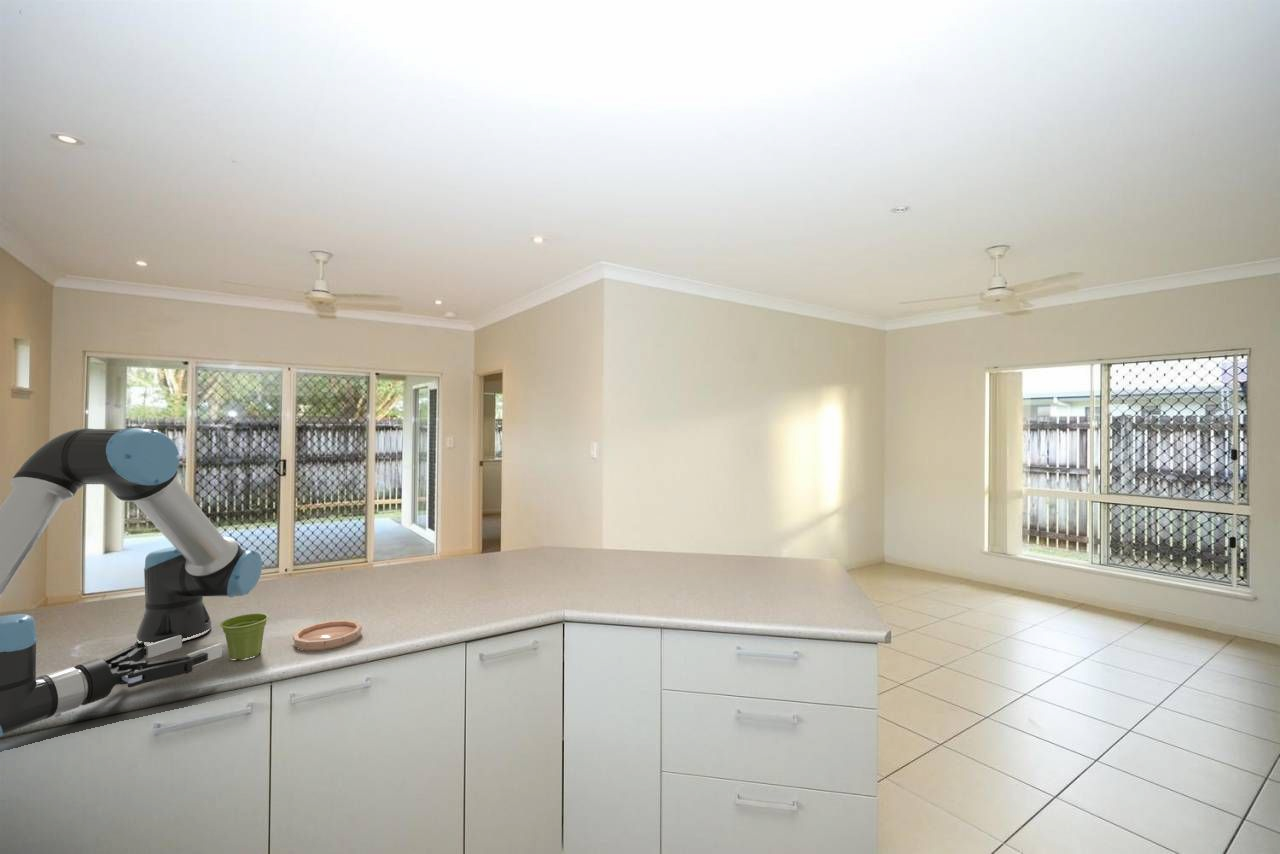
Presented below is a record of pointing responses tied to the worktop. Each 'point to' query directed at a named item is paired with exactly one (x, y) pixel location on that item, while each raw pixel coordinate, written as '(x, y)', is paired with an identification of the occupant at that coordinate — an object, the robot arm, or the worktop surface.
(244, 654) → the plant pot
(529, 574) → the worktop surface
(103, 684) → the robot arm
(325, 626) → the saucer
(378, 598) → the worktop surface
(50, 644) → the worktop surface
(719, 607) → the worktop surface
